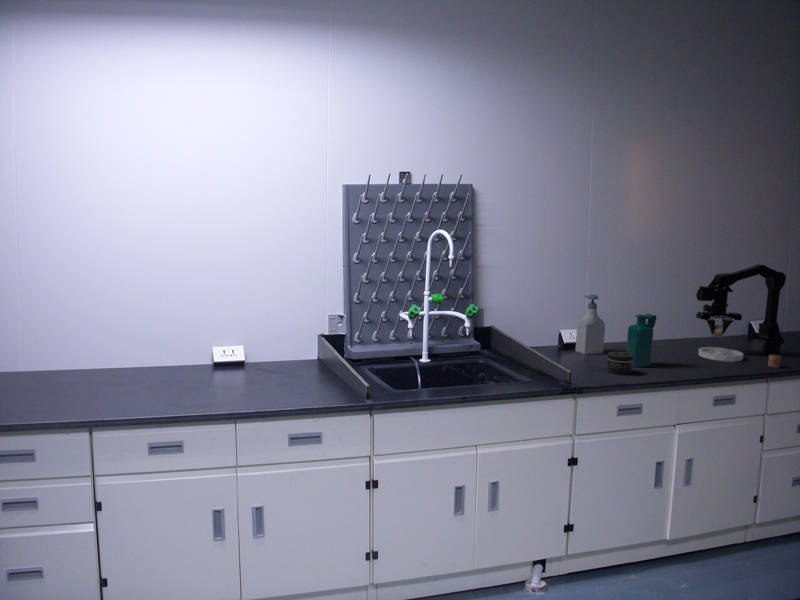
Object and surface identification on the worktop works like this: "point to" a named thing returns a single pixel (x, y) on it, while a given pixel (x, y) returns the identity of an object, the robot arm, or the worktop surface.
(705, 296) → the robot arm
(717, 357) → the tray
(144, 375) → the worktop surface
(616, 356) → the jar
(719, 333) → the bead maple
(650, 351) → the pitcher
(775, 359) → the bead terracotta
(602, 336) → the soap bottle
